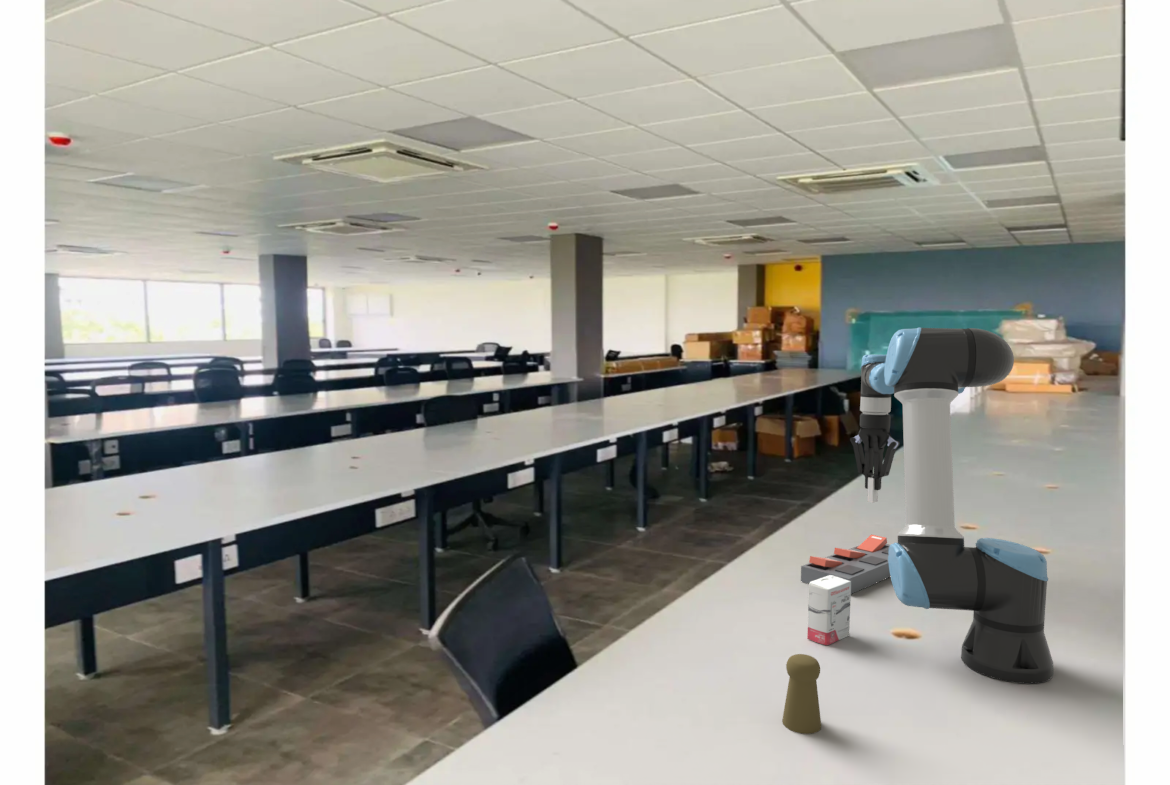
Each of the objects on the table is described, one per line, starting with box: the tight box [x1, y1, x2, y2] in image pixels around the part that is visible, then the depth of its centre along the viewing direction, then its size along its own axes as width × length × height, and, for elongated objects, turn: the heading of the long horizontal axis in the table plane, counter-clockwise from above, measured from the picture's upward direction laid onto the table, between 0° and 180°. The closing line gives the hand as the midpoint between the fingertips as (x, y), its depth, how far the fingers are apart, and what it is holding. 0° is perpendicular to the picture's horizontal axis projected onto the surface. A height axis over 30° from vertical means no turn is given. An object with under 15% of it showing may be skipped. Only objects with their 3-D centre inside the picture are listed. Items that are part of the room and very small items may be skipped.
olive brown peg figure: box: [781, 653, 822, 735], centre depth 122 cm, size 6×6×11 cm
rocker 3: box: [857, 534, 888, 553], centre depth 207 cm, size 4×8×2 cm, turn 131°
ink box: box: [807, 575, 852, 646], centre depth 156 cm, size 9×5×12 cm, turn 129°
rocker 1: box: [808, 555, 842, 567], centre depth 192 cm, size 4×8×2 cm, turn 131°
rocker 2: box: [833, 547, 866, 558], centre depth 200 cm, size 4×8×2 cm, turn 131°
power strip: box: [800, 544, 891, 595], centre depth 200 cm, size 13×44×4 cm, turn 131°
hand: (872, 501), depth 203 cm, fingers closed
